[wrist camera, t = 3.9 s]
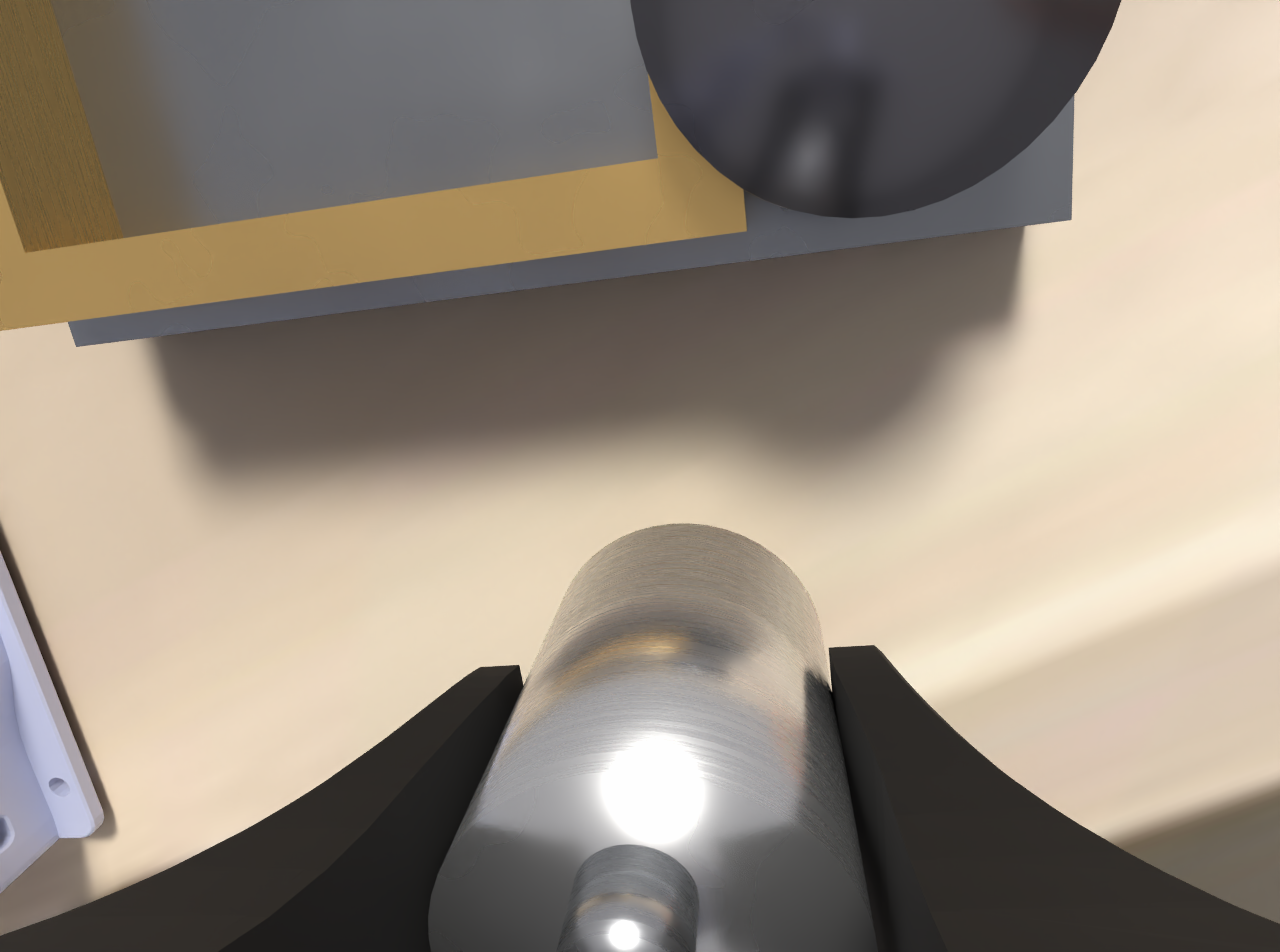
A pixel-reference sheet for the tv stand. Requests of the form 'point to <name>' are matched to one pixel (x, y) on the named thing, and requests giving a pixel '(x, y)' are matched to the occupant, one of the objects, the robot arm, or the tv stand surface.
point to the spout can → (665, 771)
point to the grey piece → (501, 144)
